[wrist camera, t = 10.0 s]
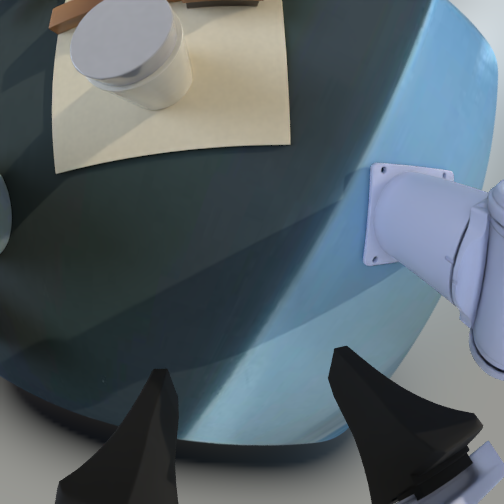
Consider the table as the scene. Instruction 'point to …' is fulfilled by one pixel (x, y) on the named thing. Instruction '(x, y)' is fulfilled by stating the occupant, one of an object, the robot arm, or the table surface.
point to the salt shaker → (134, 52)
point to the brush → (83, 3)
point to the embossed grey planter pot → (4, 215)
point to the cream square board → (193, 102)
